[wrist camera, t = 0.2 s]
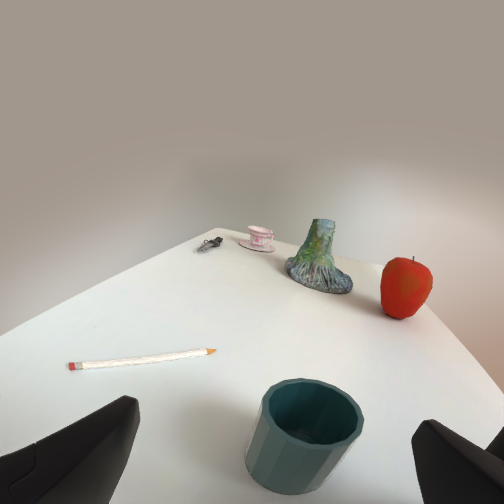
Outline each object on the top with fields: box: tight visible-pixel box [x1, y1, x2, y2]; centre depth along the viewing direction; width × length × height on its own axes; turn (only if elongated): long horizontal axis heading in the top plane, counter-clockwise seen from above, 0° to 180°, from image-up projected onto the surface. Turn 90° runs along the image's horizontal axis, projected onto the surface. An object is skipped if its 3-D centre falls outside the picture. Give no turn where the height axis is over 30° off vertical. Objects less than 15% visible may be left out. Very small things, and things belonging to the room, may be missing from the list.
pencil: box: [69, 349, 217, 370], centre depth 30 cm, size 1×19×1 cm, turn 125°
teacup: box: [240, 226, 275, 252], centre depth 96 cm, size 12×12×6 cm
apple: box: [380, 256, 433, 319], centre depth 56 cm, size 12×12×14 cm
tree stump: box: [285, 219, 353, 294], centre depth 75 cm, size 18×20×18 cm
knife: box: [198, 237, 223, 251], centre depth 84 cm, size 19×2×5 cm
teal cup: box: [245, 378, 364, 495], centre depth 19 cm, size 8×8×7 cm
